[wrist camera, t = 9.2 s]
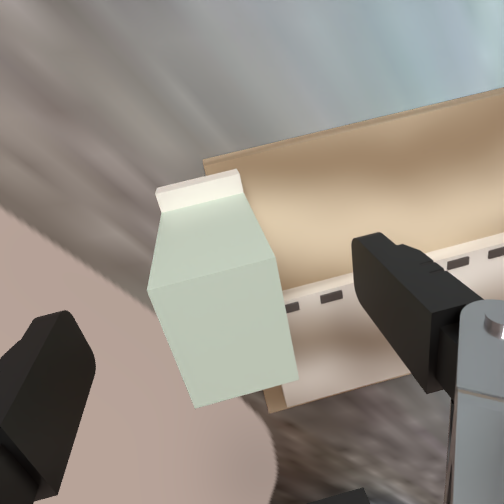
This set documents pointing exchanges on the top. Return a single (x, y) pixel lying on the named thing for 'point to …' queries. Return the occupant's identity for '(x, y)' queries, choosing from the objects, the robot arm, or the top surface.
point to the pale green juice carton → (219, 291)
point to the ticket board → (373, 225)
